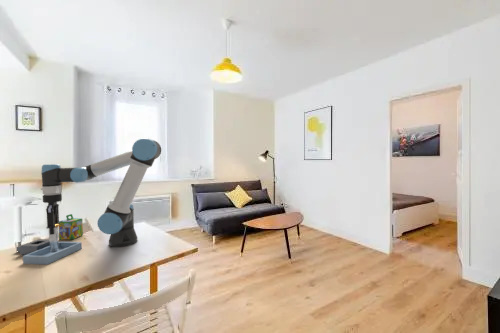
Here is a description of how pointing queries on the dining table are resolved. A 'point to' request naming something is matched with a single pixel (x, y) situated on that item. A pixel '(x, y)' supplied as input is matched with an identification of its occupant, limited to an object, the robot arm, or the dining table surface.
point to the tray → (46, 257)
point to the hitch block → (33, 246)
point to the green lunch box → (70, 228)
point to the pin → (54, 242)
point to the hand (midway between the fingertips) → (54, 238)
